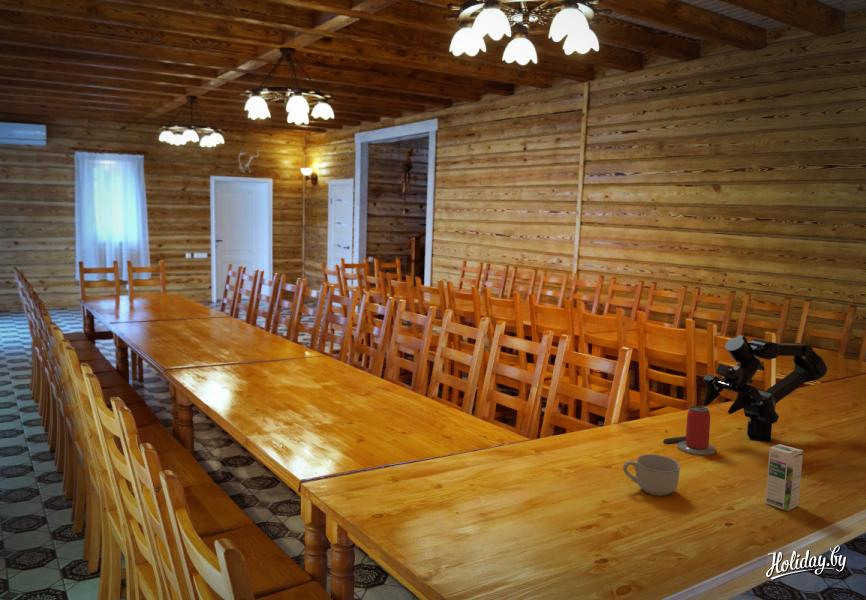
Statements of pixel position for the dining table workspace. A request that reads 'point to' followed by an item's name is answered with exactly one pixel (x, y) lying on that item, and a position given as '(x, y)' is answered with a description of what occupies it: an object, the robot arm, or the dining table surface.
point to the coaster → (703, 452)
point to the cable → (674, 439)
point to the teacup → (655, 473)
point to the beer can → (698, 427)
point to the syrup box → (784, 477)
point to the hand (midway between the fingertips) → (716, 409)
